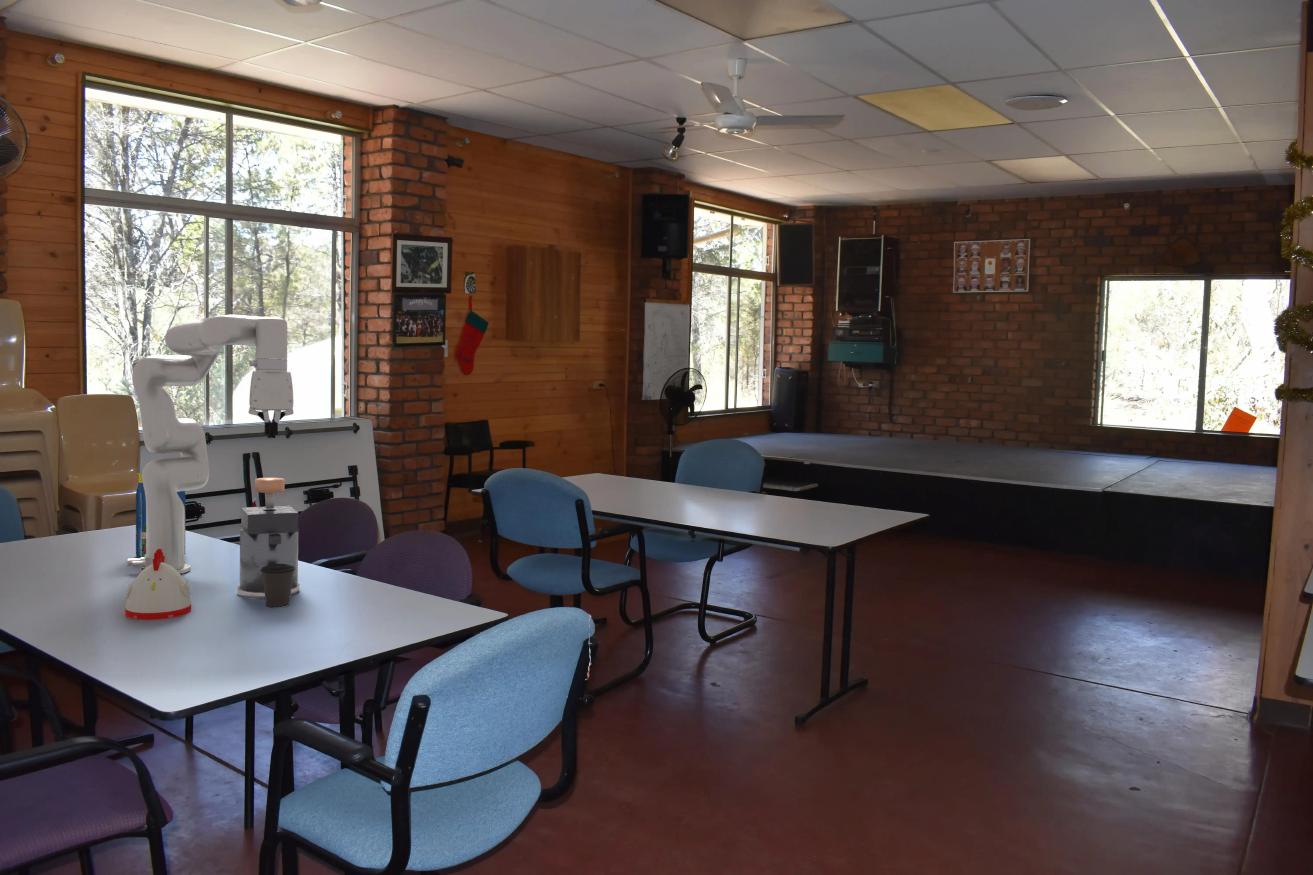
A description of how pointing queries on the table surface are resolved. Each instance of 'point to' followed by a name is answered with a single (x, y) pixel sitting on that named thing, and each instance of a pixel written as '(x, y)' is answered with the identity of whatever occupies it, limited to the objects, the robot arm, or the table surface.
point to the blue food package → (144, 517)
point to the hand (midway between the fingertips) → (271, 437)
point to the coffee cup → (277, 584)
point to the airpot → (266, 546)
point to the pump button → (269, 488)
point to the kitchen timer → (158, 592)
